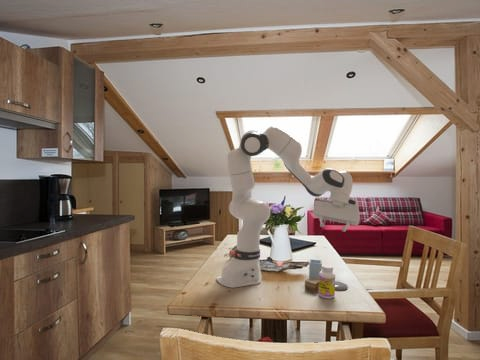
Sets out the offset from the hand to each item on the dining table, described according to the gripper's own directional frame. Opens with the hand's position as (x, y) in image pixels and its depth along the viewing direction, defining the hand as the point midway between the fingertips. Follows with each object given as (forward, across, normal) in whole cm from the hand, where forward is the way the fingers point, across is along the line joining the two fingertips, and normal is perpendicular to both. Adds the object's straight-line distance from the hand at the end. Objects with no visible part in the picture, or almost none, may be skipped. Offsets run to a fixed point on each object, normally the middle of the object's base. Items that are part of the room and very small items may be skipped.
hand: (332, 228), depth 133 cm
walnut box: (+24, -4, +16) cm, 29 cm away
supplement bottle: (+26, +2, +12) cm, 29 cm away
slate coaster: (+18, +5, +22) cm, 29 cm away
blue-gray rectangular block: (+18, -5, +24) cm, 30 cm away
